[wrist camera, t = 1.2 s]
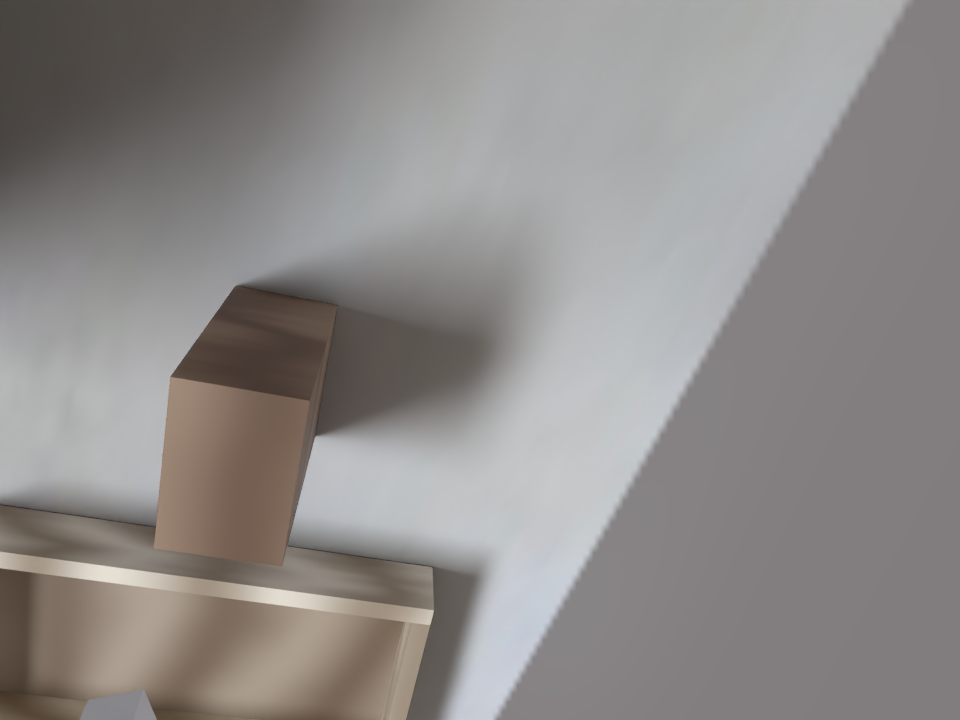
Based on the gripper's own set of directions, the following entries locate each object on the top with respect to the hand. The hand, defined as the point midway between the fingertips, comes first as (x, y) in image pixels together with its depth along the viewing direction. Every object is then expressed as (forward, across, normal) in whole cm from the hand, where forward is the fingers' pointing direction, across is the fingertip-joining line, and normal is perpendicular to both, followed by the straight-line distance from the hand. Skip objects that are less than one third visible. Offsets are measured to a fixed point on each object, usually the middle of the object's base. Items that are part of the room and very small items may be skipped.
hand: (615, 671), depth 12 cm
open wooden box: (+22, -15, -16) cm, 31 cm away
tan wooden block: (+22, -9, -3) cm, 24 cm away
